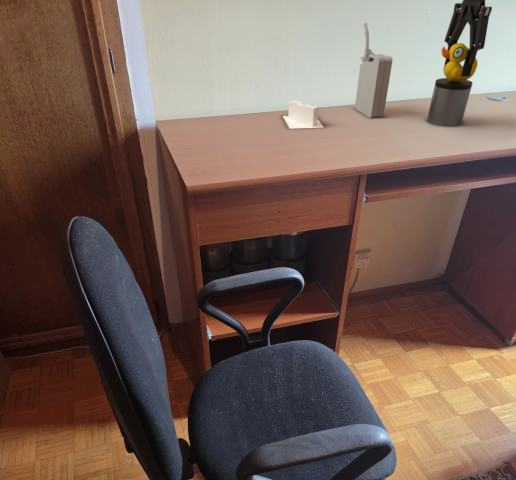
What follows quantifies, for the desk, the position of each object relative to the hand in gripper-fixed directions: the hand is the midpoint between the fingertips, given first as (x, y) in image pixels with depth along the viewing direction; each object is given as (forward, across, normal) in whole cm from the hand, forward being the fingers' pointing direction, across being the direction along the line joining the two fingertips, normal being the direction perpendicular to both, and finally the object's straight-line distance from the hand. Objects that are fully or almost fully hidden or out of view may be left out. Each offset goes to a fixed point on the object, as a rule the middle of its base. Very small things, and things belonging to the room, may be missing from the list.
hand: (456, 73), depth 139 cm
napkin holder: (+14, -14, -45) cm, 49 cm away
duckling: (+2, 0, 0) cm, 2 cm away
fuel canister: (+14, -19, -19) cm, 30 cm away
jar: (+14, 0, 0) cm, 14 cm away
